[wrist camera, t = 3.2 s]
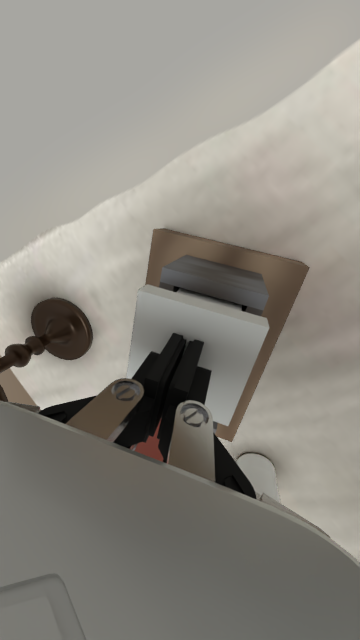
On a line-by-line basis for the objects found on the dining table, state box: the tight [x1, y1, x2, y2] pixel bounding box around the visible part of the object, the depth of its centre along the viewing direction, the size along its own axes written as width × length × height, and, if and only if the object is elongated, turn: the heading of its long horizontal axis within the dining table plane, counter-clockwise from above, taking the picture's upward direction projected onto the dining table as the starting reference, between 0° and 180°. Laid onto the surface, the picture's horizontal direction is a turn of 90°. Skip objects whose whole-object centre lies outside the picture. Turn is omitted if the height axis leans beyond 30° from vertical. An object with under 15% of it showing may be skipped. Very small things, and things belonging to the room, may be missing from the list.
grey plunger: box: [126, 284, 269, 426], centre depth 16 cm, size 6×6×8 cm
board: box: [133, 229, 310, 451], centre depth 23 cm, size 14×22×10 cm, turn 168°
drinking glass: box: [236, 453, 281, 503], centre depth 26 cm, size 7×7×15 cm
